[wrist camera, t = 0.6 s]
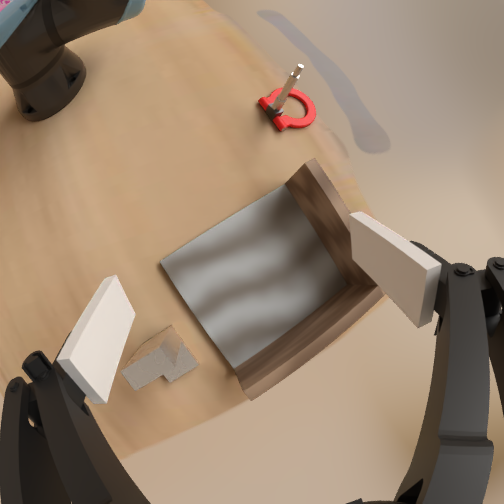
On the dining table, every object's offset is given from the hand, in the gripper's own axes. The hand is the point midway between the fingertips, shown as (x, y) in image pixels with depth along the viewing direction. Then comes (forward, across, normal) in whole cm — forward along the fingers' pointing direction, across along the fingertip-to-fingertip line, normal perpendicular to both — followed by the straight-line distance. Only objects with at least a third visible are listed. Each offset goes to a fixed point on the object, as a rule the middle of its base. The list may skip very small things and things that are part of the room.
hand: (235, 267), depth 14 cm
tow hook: (+34, +14, +9) cm, 38 cm away
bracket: (+14, -13, -18) cm, 26 cm away
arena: (+20, +3, -13) cm, 24 cm away
